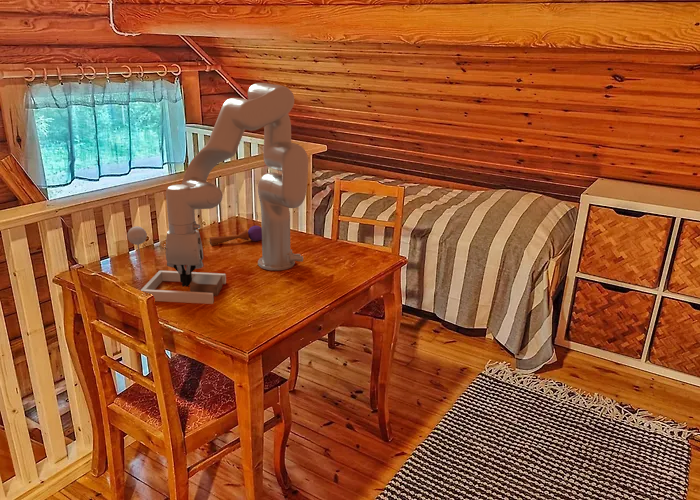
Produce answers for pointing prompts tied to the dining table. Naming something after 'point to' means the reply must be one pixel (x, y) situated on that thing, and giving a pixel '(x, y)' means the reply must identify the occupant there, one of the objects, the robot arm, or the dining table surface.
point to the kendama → (240, 236)
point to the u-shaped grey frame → (178, 295)
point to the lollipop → (137, 237)
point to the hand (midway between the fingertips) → (186, 284)
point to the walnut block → (206, 284)
